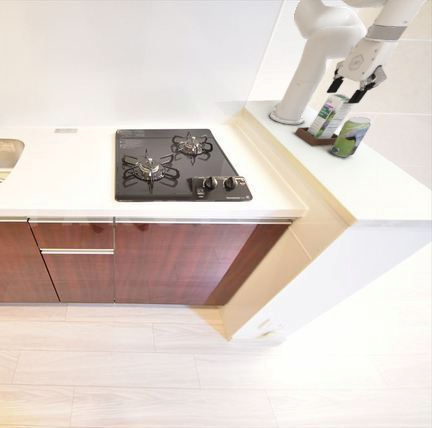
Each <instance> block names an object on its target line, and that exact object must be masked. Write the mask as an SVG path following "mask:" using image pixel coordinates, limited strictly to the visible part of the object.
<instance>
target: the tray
mask: <svg viewBox="0 0 432 428" xmlns="http://www.w3.org/2000/svg"><path fill="white" fill-rule="evenodd" d="M309 127H310V126H304V127H302V126H301V127H297V129H296V131H295V133H294V134H295V135H296V136H297V137H299V138H300V139H301V140H303V141H305V142H306V143H307V144H308V145H310V146H312V147H318V146H333V145H334V143H335V141H336V139H337V137H338V135H339V134H336V133H335V132H334V134H333V135H332V137H331V138H326V139H316V138H314V137H313V136H311V135H310V134H308V133H307V130H308V129H309Z"/></svg>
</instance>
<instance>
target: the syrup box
mask: <svg viewBox="0 0 432 428" xmlns="http://www.w3.org/2000/svg"><path fill="white" fill-rule="evenodd" d="M351 97H352V96H348V95H346V94H341V93H332V94H329V96H328V97H327V98H326V99H325V101H324V103H323V104H322V107H321V108H320V110H319V111H318V112H317V114H316V116H315V118H314V119H313V120H312V123H311V124H310V126H308V127H309V129H308V130H307V133H308V134H310V135H311V136H313V137H314V138H316V139H326V138H331V137H332V135H333V134H334V133H335V132H336V131H337V130H338V128H339V127H340V125H342V123H343V122H344V120H345V118H346V117H347V115H348V114H349V113H350V111H351V110H352V109H353V107H354V106H355V105H356V103H353V104H350V103H348V101H349V100H350V98H351Z"/></svg>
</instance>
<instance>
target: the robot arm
mask: <svg viewBox="0 0 432 428" xmlns="http://www.w3.org/2000/svg"><path fill="white" fill-rule="evenodd" d="M341 1H342V2H343V3H344V4H345V5H347V6H345V5H344V6H340V5H339V6H338V5H337V6H333V5H332V6H329V5H326V4H325V3H324V2H323V1H322V0H300V2H299V3H298V5H297V7H296V10H295V13H294V20H293V23H294V24H295V27H296V28H297V30H298V32H299V35H300V36H301V37H302V38H303V39H305V40H306V41H305V44H304V46H303V50H302V53H301V57H300V60H299V62H298V65H297V67H296V69H295V72H294V74H293V75H292V78H291V80H290V82H289V83H288V86H287V88H286V90H285V93H284V94H283V97H282V99H281V101H280V102H278V103H275V104H274V105H273V107H274V108H275V110H274V111H272V112H271V113H270V115H269V117H270V119H271V120H273V121H275V122H278V123H280V124H285V125H300V124H302V123H304V121H305V118H304V117H303V114H304V112H305V110H306V109H307V107H308V105H309V103H310V102H311V100H312V98H313V96H314V94H315V93H316V91H317V90H318V87H319V86H320V84H321V82H322V80H323V79H324V77H325V74H326V71H327V61H328V60H342V59H344V60H342V61H337V63H336V65H335V70H334V75H333V77H332V82H331V84H330V85H329V87H328V88H327V90H326V94H337V92H338V90H339V89H340V88H341V86H342V85H343V83H344V79H348V80H350V81H354V82H357V83H358V82H359V87H358V89H356V90H355V91H354V93H353V94H352V95H351V96H350V97H351V98H350V100H349V101H348V103H350V104H353V103H355V104H359V103H360V102H361V100H362V99H363V98H364V96H365V95H366V94H367V92H368V91H371V90H372V89H373V88H376V87H378V86H379V85H380V84H382V83H383V82H385V81H386V80H387V78H388V76H387V74H386V73H385V70H384V68H385V67H386V65H387V64H388V62H389V61H390V59H391V57H392V56H393V54H394V52H395V50H396V48H397V46H398V45H399V40H400V39H401V37H402V36H403V34H404V33H405V32H406V30H407V29H408V28H409V26H410V25H411V24H412V22H413V21H414V19H415V18H416V16H417V15H418V14H419V12H420V11H421V10H422V8H423V6H424V5H425V4H426V2H427V1H428V0H341ZM353 8H356V9H360V8H364V9H365V8H382V9H380V12H379V13H378V15H377V17H376V18H375V19H374V21H373V23H372V24H371V25H370V26H369V27H368V28H366V26H365V25H364V23H363V22H362V20H361V18H360V17H359V16H358V14H357V13H356V11H355V10H354V9H353Z"/></svg>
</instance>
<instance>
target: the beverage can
mask: <svg viewBox="0 0 432 428" xmlns="http://www.w3.org/2000/svg"><path fill="white" fill-rule="evenodd" d="M370 127H371V119H370V118H368V117H364V116H351V117H349V119H348V120H346V121H345V122H344V123H343V125H342V127H341V129H340V131H339V133H338V134H337V135H338V137H337V139H336V141H335V143H334V145H332V146H331V149H330V152H331V153H332V154H333V155H335V156H338V157H349V156H353V155H354V154H355V153H356V151H357V149H358V148H359V146H360V145H361V143H362V141H363V139H364V138H365V136H366V135H367V133H368V130H369V129H370Z"/></svg>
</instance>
